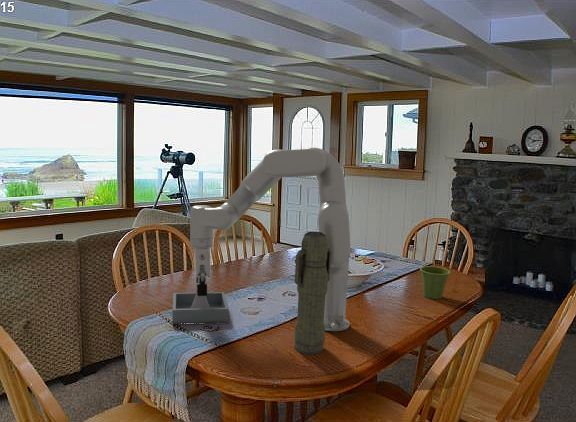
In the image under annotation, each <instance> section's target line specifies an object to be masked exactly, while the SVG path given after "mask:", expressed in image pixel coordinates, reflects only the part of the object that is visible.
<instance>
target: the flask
mask: <svg viewBox="0 0 576 422" xmlns="http://www.w3.org/2000/svg"><path fill="white" fill-rule="evenodd" d="M197 284H198V283H195V286H197ZM195 293H196V296H195V299H194V301H193V304H192V307H191V309H201V308H210V307H209V304H208V301H207V298H206V296H197V291H196V292H195Z"/></svg>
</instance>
